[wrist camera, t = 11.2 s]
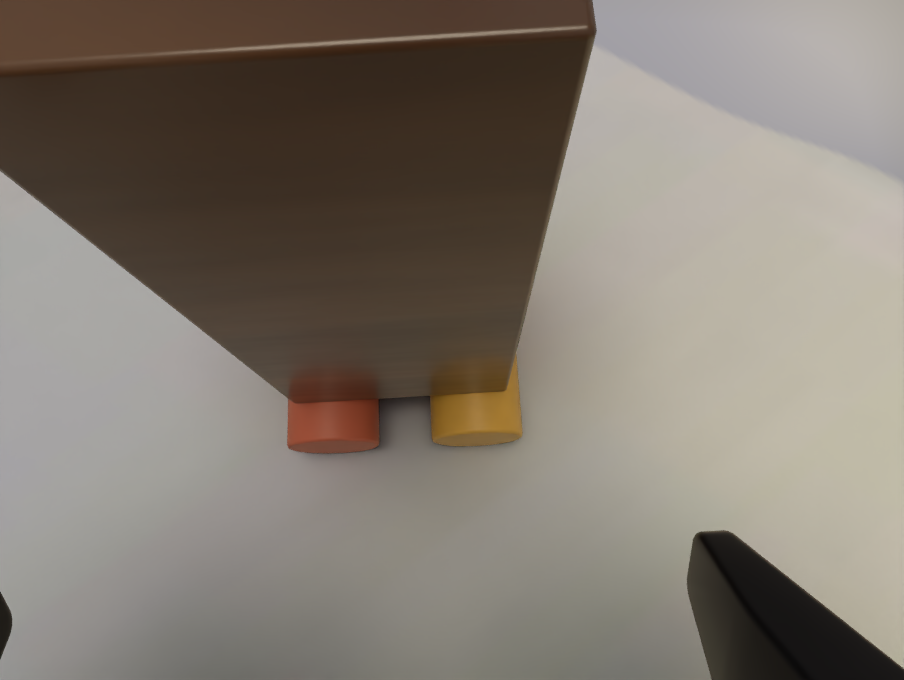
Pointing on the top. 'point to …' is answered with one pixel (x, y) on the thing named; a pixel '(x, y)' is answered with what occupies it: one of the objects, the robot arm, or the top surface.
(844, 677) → the robot arm
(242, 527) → the top surface
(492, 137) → the bar
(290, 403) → the twin coloured cylinders
